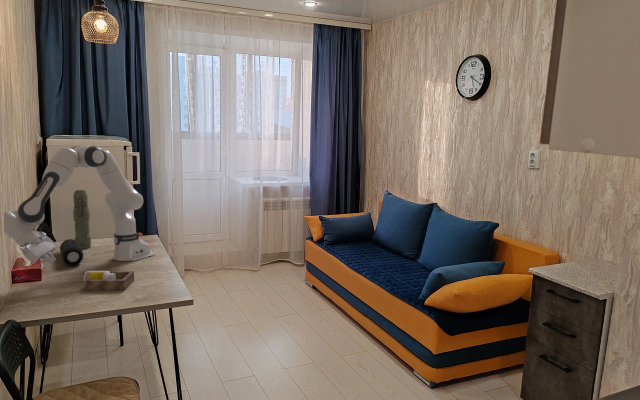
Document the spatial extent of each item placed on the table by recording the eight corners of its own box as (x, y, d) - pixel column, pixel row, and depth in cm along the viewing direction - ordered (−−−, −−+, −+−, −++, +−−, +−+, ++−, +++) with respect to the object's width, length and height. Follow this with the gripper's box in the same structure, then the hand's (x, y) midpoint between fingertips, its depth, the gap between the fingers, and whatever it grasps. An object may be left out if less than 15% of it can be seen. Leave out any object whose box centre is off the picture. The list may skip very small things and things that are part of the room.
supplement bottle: (83, 286, 220) (111, 287, 220) (82, 272, 219) (111, 272, 220) (89, 282, 226) (117, 283, 227) (89, 269, 226) (116, 269, 226)
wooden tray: (85, 290, 217) (85, 280, 217) (97, 280, 231) (96, 271, 230) (125, 290, 219) (124, 280, 218) (134, 280, 233) (134, 271, 232)
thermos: (90, 244, 298) (87, 189, 292) (91, 249, 287) (88, 191, 282) (74, 246, 294) (71, 189, 288) (75, 250, 283) (72, 192, 278)
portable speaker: (60, 256, 271) (59, 239, 270) (79, 254, 277) (78, 237, 275) (63, 268, 250) (62, 249, 249) (84, 265, 255) (83, 247, 254)
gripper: (22, 241, 208) (47, 263, 211) (45, 231, 228) (67, 251, 231) (12, 251, 209) (37, 272, 211) (36, 240, 229) (58, 260, 231)
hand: (53, 261), depth 221 cm, fingers closed
